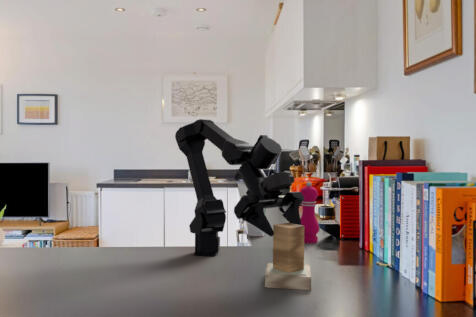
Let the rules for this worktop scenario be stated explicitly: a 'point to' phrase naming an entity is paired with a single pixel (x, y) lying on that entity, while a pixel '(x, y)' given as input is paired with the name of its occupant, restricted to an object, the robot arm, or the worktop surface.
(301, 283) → the plinth
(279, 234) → the oak block
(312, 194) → the pepper mill
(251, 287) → the worktop surface
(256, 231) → the syrup box
